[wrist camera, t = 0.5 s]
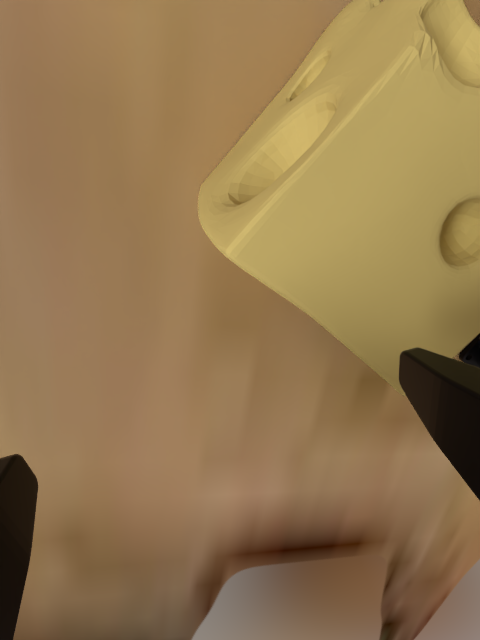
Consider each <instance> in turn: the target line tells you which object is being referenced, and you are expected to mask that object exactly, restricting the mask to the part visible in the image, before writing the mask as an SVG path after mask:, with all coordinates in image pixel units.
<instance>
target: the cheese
mask: <svg viewBox="0 0 480 640" xmlns="http://www.w3.org/2000/svg"><path fill="white" fill-rule="evenodd" d="M198 215H199V220H200V223H201V226H202V228H203V229H204V231H205V233H206V234H207V236H208V237H209V239H210V240H211V241H212V243H213V244H214V245H215V246H216V247H217V248H218V250H219V251H220V252H221V253H222V254H224V255H225V256H226V257H227V258H228V259H229V260H231V261H232V262H233V263H235V264H236V265H237V266H239V267H240V268H241V269H243V270H244V271H246V272H247V273H249V274H250V275H252V276H253V277H254V278H256V279H257V280H259V281H260V282H262V283H263V284H265V285H266V286H268V287H269V288H271V289H272V290H274V291H275V292H277V293H278V294H280V295H281V296H283V297H284V298H286V299H287V300H288V301H290V302H291V303H293V304H294V305H295V306H297V307H298V308H300V309H301V310H302V311H304V312H305V313H306V314H308V315H309V316H310V317H312V318H313V319H314V320H315V321H316V322H318V323H319V324H320V325H321V326H323V327H324V328H325V329H326V330H327V331H328V332H330V333H331V334H332V335H333V336H334V337H336V338H337V339H338V340H339V341H340V342H341V343H343V344H344V345H345V346H346V347H347V348H348V349H349V350H351V351H352V352H353V353H354V354H355V355H356V356H358V357H359V358H360V359H361V360H362V361H363V362H365V363H366V364H367V365H368V366H369V367H370V368H372V369H373V370H374V371H375V372H376V373H377V374H378V375H380V376H381V377H382V378H383V379H384V380H385V381H386V382H388V383H389V384H390V385H391V386H392V387H393V388H394V389H395V390H396V391H397V392H399V393H400V394H401V395H403V396H406V394H405V393H404V391H403V389H402V388H401V385H400V383H399V359H400V354H401V352H402V351H404V350H408V349H412V348H416V347H419V348H422V349H425V350H428V351H431V352H434V353H437V354H440V355H443V356H446V357H449V358H453V357H454V356H456V355H457V354H458V353H459V352H460V351H461V350H462V349H463V348H464V347H465V346H466V345H467V344H469V343H470V342H471V341H472V340H473V339H474V338H475V337H476V336H477V335H478V334H479V333H480V26H478V25H477V24H476V22H475V21H474V20H473V18H472V17H471V15H470V14H469V12H468V9H467V7H466V5H465V3H464V1H463V0H384V1H383V2H381V1H380V0H353V1H352V2H350V3H349V4H348V5H347V6H346V7H345V8H344V9H343V10H342V11H341V12H340V13H339V14H338V15H337V16H336V17H335V19H334V20H333V21H332V22H331V24H330V25H329V26H328V27H327V28H326V30H325V31H324V32H323V34H322V35H321V36H320V38H319V39H318V41H317V42H316V43H315V45H314V46H313V48H312V49H311V51H310V52H309V54H308V55H307V57H306V58H305V59H304V61H303V62H302V64H301V65H300V67H299V68H298V69H297V71H296V72H295V73H294V75H293V76H292V77H291V79H290V80H289V81H288V82H287V84H286V85H285V86H284V88H283V89H282V90H281V91H280V92H279V93H278V95H277V96H276V97H275V98H274V99H273V100H272V102H271V103H270V104H269V105H268V106H267V108H266V109H265V110H264V111H263V112H262V114H261V115H260V116H259V117H258V118H257V120H256V121H255V122H254V123H253V124H252V126H251V127H250V128H249V129H248V130H247V132H246V133H245V134H244V135H243V136H242V138H241V139H240V140H239V141H238V142H237V144H236V145H235V146H234V147H233V148H232V150H231V151H230V152H229V153H228V154H227V155H226V157H225V158H224V159H223V160H222V161H221V162H220V163H219V165H218V166H217V167H216V168H215V169H214V170H213V172H212V173H211V174H210V175H209V176H208V177H207V179H206V180H205V181H204V182H203V184H202V185H201V187H200V192H199V197H198Z"/></svg>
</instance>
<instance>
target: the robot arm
mask: <svg viewBox="0 0 480 640" xmlns="http://www.w3.org/2000/svg"><path fill="white" fill-rule="evenodd" d="M459 359H460V360H461V361H463V362H461V361H458V360H455V359H452V358H449V357H446V356H443V355H440V354H437V353H434V352H431V351H428V350H425V349H422V348H419V347H416V348H412V349H408V350H404V351H402V352H401V354H400V359H399V383H400V385H401V388H402V389H403V391H404V393H405V394H406V396H407V398H408V399H409V401H410V402H411V404H412V406H413V407H414V409H415V411H416V412H417V414H418V416H419V417H420V419H421V420H422V422H423V424H424V425H425V427H426V429H427V430H428V432H429V433H430V435H431V437H432V438H433V440H434V441H435V442H436V444H437V445H438V447H439V448H440V449H441V451H442V452H443V453H444V455H445V456H446V457H447V458H448V460H449V461H450V462H451V464H452V465H453V466H454V468H455V469H456V470H457V471H458V473H459V474H460V475H461V477H462V478H463V479H464V481H465V482H466V483H467V485H468V486H469V487H470V488H471V490H472V491H473V492H474V494H475V495H476V496H477V498H478V499H479V500H480V333H479V334H478V335H477V336H476V337H475V338H474V339H473V340H472V342H471V343H470V344H469V345H468V346H467V347H466V348H465V349H464V350H463V351H462V352H461V353H460V355H459ZM37 493H38V482H37V478H36V476H35V475H34V473H33V472H32V470H31V469H30V467H29V466H28V464H27V463H26V461H25V460H24V458H23V457H22V456H21V455H19V454H14V455H10V456H7V457H3V458H0V640H13V637H14V632H15V628H16V623H17V618H18V614H19V609H20V604H21V600H22V595H23V590H24V586H25V581H26V576H27V572H28V567H29V561H30V556H31V548H32V540H33V531H34V521H35V512H36V502H37Z"/></svg>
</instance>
